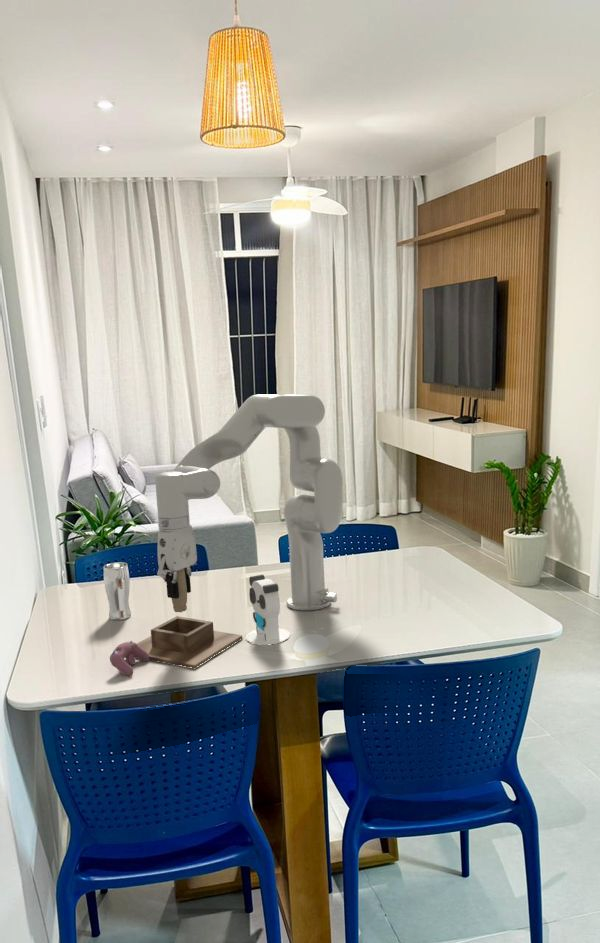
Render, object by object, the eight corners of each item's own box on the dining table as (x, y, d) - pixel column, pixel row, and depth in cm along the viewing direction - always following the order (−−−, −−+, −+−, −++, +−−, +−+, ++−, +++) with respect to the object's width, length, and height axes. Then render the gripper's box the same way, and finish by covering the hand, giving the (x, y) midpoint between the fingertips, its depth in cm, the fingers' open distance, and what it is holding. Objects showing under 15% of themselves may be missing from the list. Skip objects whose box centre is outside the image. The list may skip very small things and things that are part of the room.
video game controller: (137, 665, 185) (123, 640, 184) (152, 658, 183) (138, 632, 183) (117, 682, 175) (103, 656, 175) (133, 675, 174) (118, 648, 174)
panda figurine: (238, 633, 198) (235, 577, 196) (278, 625, 202) (275, 570, 200) (254, 648, 187) (251, 590, 185) (297, 639, 192) (294, 582, 189)
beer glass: (137, 613, 217) (133, 563, 214) (122, 622, 210) (117, 569, 208) (118, 611, 220) (113, 561, 217) (102, 619, 213) (97, 568, 211)
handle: (194, 611, 188) (190, 552, 185) (168, 615, 186) (164, 555, 183) (191, 606, 192) (187, 548, 190) (165, 609, 190) (161, 551, 188)
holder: (242, 639, 194) (241, 618, 193) (194, 669, 177) (193, 646, 176) (174, 627, 204) (172, 607, 204) (122, 654, 187) (121, 633, 186)
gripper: (164, 531, 176) (169, 607, 179) (206, 516, 191) (211, 586, 194) (139, 529, 180) (145, 603, 183) (183, 514, 195) (187, 583, 197)
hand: (179, 594), depth 188 cm, fingers closed on handle, 4 cm apart
